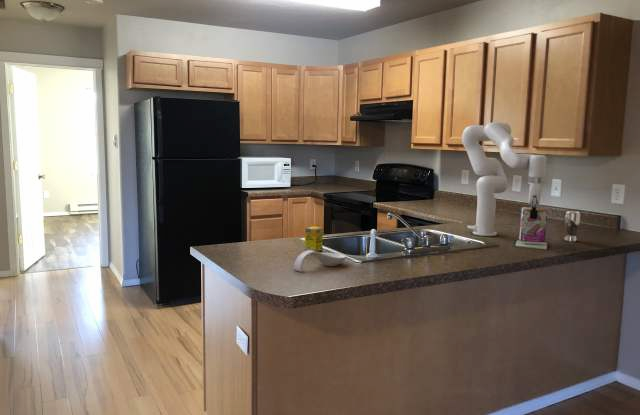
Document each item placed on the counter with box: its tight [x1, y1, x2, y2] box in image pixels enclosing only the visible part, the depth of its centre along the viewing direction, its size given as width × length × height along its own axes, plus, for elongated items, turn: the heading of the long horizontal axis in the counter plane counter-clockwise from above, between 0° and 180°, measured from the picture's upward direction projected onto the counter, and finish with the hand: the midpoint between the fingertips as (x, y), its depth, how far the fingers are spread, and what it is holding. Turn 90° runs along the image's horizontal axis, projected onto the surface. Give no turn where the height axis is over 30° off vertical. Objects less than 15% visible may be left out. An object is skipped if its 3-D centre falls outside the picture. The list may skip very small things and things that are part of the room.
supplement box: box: [304, 225, 324, 253], centre depth 227 cm, size 6×6×11 cm
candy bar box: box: [518, 206, 548, 243], centre depth 249 cm, size 11×5×16 cm, turn 78°
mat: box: [514, 239, 548, 250], centre depth 251 cm, size 14×14×1 cm
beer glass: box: [563, 210, 581, 243], centre depth 262 cm, size 7×7×15 cm
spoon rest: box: [293, 250, 347, 273], centre depth 202 cm, size 24×12×7 cm, turn 133°
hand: (533, 217), depth 249 cm, fingers closed on candy bar box, 5 cm apart
